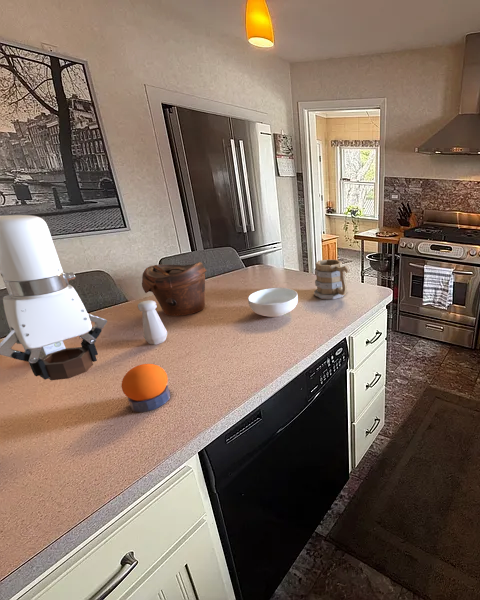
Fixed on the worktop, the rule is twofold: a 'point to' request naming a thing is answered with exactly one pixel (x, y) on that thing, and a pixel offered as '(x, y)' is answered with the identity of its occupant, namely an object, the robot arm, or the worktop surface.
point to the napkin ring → (67, 363)
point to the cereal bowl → (273, 301)
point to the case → (176, 287)
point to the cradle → (150, 402)
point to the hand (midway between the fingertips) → (68, 367)
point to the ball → (144, 382)
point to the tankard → (330, 279)
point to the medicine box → (51, 349)
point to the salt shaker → (152, 323)
